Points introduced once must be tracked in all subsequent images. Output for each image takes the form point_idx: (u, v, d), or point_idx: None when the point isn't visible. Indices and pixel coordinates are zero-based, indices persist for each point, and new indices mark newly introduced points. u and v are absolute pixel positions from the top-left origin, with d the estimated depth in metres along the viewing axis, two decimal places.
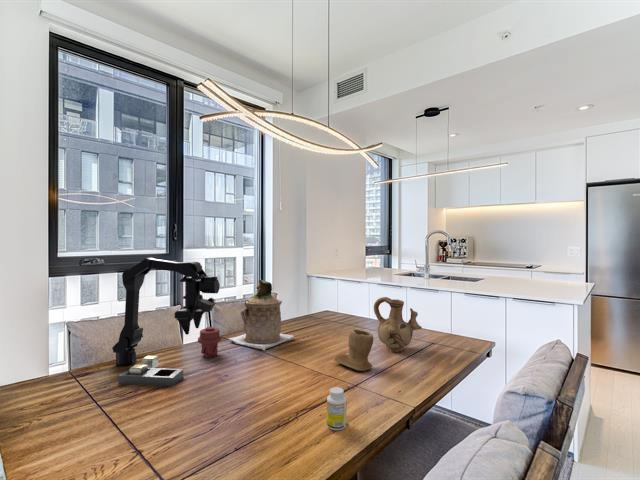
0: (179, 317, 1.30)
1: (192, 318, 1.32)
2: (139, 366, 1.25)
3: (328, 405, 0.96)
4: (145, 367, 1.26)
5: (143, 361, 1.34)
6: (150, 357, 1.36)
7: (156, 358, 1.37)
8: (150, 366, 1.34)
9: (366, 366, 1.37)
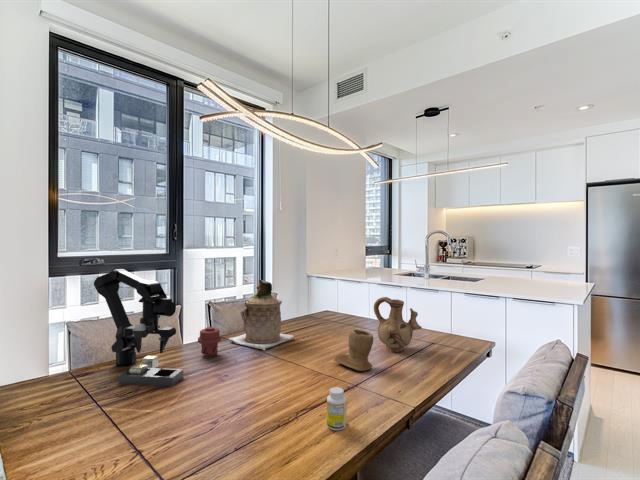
0: None
1: (130, 337, 1.34)
2: (139, 366, 1.25)
3: (328, 405, 0.96)
4: (145, 367, 1.26)
5: (143, 361, 1.34)
6: (150, 357, 1.36)
7: (156, 358, 1.37)
8: (150, 366, 1.34)
9: (366, 366, 1.37)
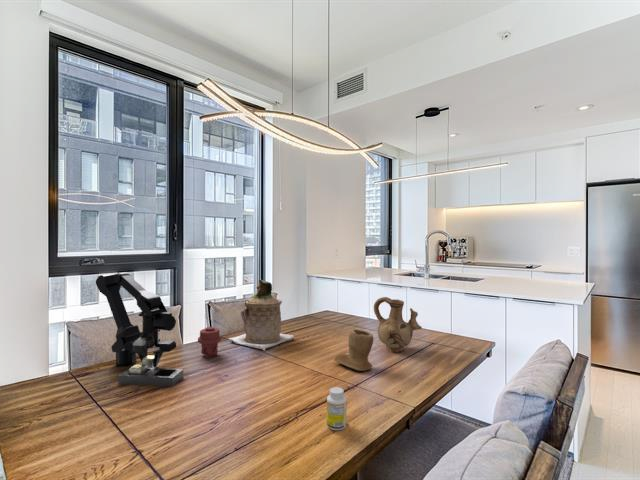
0: None
1: (136, 352, 1.34)
2: (139, 366, 1.25)
3: (328, 405, 0.96)
4: (145, 367, 1.26)
5: (143, 361, 1.34)
6: (150, 357, 1.36)
7: None
8: (150, 366, 1.34)
9: (366, 366, 1.37)
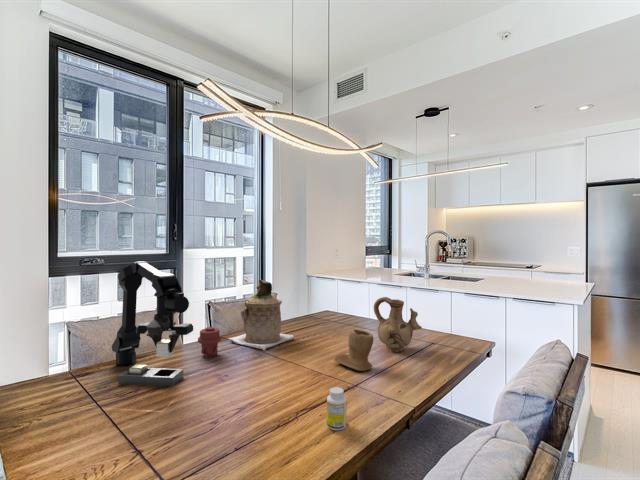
0: None
1: (149, 335, 1.22)
2: (139, 366, 1.25)
3: (328, 405, 0.96)
4: (145, 367, 1.26)
5: (157, 345, 1.23)
6: (165, 341, 1.24)
7: None
8: (165, 350, 1.22)
9: (366, 366, 1.37)
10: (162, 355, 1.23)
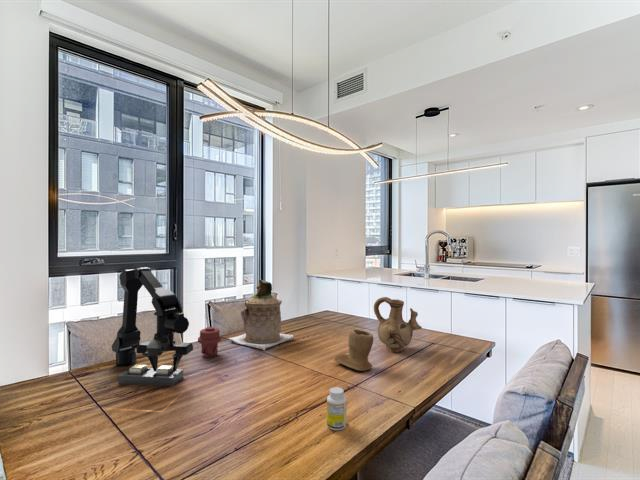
0: None
1: (146, 355, 1.22)
2: (139, 366, 1.25)
3: (328, 405, 0.96)
4: (145, 367, 1.26)
5: (157, 372, 1.23)
6: (165, 367, 1.24)
7: (171, 368, 1.25)
8: None
9: (366, 366, 1.37)
10: None
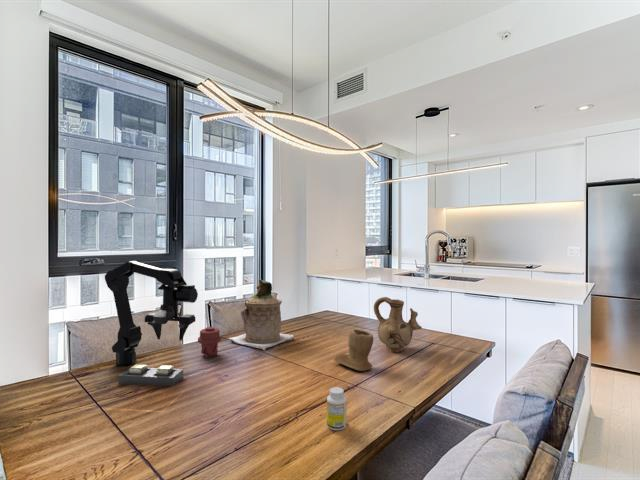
0: None
1: (150, 323, 1.35)
2: (139, 366, 1.25)
3: (328, 405, 0.96)
4: (145, 367, 1.26)
5: (157, 372, 1.23)
6: (165, 367, 1.24)
7: (171, 368, 1.25)
8: None
9: (366, 366, 1.37)
10: None
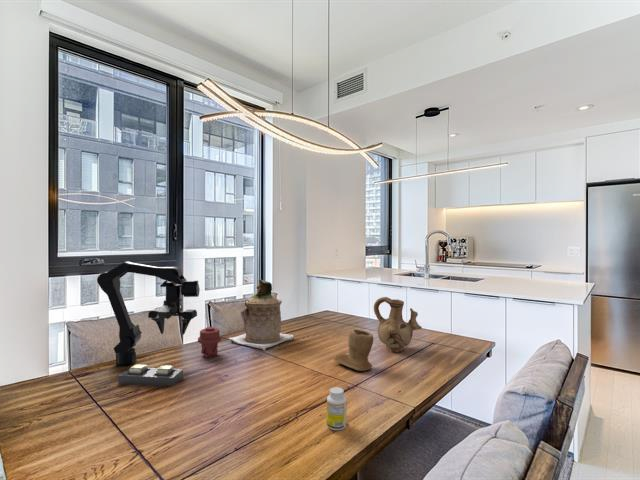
0: None
1: (154, 319, 1.41)
2: (139, 366, 1.25)
3: (328, 405, 0.96)
4: (145, 367, 1.26)
5: (157, 372, 1.23)
6: (165, 367, 1.24)
7: (171, 368, 1.25)
8: None
9: (366, 366, 1.37)
10: None
